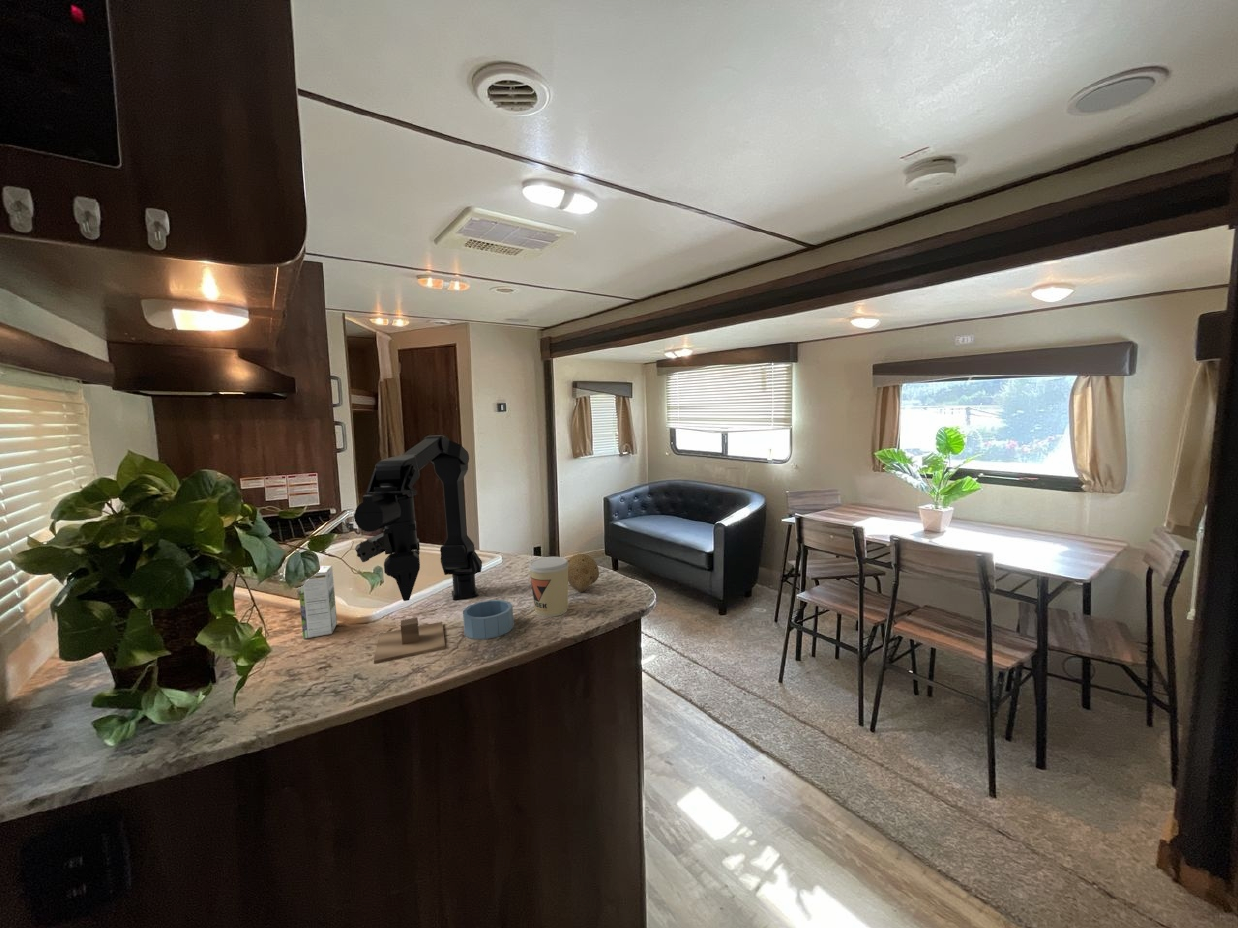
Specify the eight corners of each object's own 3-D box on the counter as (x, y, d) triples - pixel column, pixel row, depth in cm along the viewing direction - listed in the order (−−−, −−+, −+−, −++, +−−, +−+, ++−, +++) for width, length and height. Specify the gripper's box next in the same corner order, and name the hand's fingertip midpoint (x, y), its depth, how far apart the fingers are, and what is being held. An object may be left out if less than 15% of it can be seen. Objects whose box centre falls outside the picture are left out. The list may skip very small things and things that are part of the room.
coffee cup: (524, 611, 115) (521, 562, 114) (556, 600, 121) (553, 553, 120) (545, 622, 108) (542, 570, 107) (578, 609, 114) (576, 561, 113)
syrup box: (309, 629, 110) (302, 568, 109) (338, 624, 112) (332, 564, 111) (302, 639, 105) (295, 575, 104) (333, 634, 107) (326, 571, 106)
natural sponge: (585, 582, 134) (583, 547, 133) (607, 589, 127) (605, 553, 126) (559, 591, 128) (557, 554, 127) (580, 599, 121) (578, 561, 120)
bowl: (462, 624, 109) (461, 605, 109) (508, 615, 113) (507, 596, 113) (467, 643, 100) (465, 622, 99) (517, 632, 104) (515, 612, 103)
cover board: (379, 639, 105) (377, 616, 104) (442, 626, 110) (440, 604, 109) (374, 666, 93) (371, 640, 92) (445, 651, 98) (443, 626, 97)
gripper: (361, 516, 104) (368, 586, 106) (350, 534, 87) (358, 617, 89) (416, 510, 109) (422, 577, 110) (416, 526, 91) (423, 605, 93)
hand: (406, 593), depth 100 cm, fingers open, 9 cm apart
